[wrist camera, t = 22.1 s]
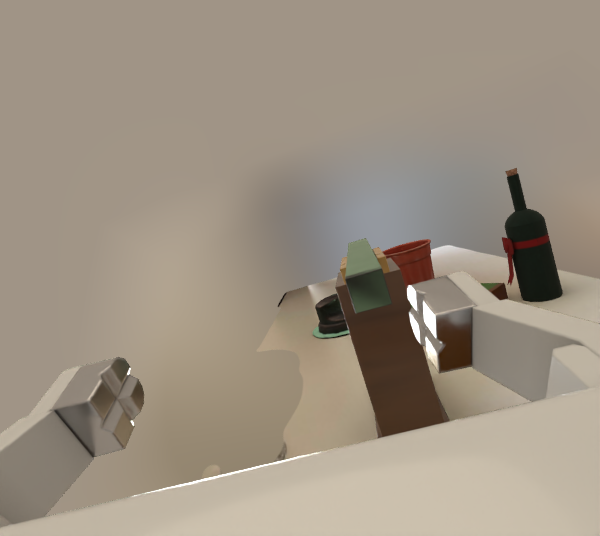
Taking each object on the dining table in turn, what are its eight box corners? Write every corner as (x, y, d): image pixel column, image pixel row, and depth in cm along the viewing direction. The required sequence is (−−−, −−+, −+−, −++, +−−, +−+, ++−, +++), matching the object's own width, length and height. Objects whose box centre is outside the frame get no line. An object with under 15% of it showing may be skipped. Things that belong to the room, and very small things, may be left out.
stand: (462, 452, 41) (405, 251, 38) (382, 466, 43) (321, 275, 40) (427, 375, 61) (387, 237, 58) (372, 386, 62) (331, 254, 60)
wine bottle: (505, 298, 83) (475, 180, 80) (549, 287, 81) (520, 166, 78) (521, 307, 75) (489, 177, 72) (570, 294, 74) (539, 161, 70)
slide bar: (392, 304, 26) (381, 268, 26) (355, 313, 27) (344, 278, 27) (371, 255, 56) (365, 238, 55) (353, 260, 56) (348, 243, 56)
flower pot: (382, 300, 115) (369, 255, 113) (419, 284, 120) (407, 241, 118) (413, 305, 99) (399, 254, 97) (455, 286, 104) (442, 237, 102)
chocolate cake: (348, 306, 117) (391, 310, 100) (319, 351, 110) (361, 363, 93) (321, 278, 111) (363, 277, 94) (290, 323, 104) (328, 330, 87)
